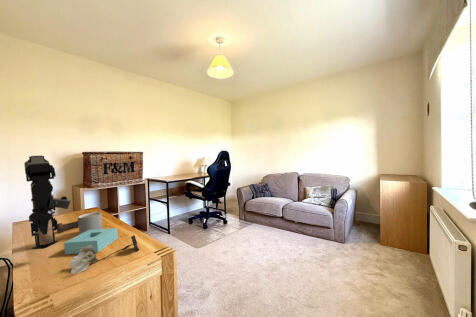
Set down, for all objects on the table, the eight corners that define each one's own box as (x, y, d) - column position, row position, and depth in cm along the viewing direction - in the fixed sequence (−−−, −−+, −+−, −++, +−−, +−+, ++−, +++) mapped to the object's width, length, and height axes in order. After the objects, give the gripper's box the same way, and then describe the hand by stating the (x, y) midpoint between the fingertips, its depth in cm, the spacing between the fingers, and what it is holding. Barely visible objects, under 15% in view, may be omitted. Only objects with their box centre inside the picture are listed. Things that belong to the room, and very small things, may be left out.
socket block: (65, 254, 85) (63, 242, 85) (89, 239, 99) (88, 229, 99) (98, 252, 85) (97, 240, 85) (118, 238, 99) (117, 227, 99)
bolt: (90, 227, 125) (59, 235, 112) (86, 222, 127) (55, 230, 114) (91, 219, 123) (60, 227, 110) (88, 214, 125) (57, 221, 113)
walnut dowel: (36, 245, 79) (34, 220, 79) (46, 240, 83) (44, 216, 83) (46, 244, 79) (44, 219, 79) (56, 240, 83) (53, 216, 83)
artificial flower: (142, 256, 82) (138, 236, 79) (71, 286, 69) (63, 263, 66) (137, 243, 89) (133, 224, 86) (73, 268, 76) (65, 247, 73)
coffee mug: (105, 232, 108) (103, 213, 108) (82, 238, 101) (80, 219, 101) (97, 227, 117) (95, 210, 117) (75, 233, 109) (74, 215, 109)
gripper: (67, 193, 78) (71, 232, 79) (68, 188, 93) (71, 222, 93) (26, 198, 71) (31, 242, 72) (34, 192, 86) (38, 229, 86)
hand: (45, 232), depth 81 cm, fingers closed on walnut dowel, 4 cm apart
